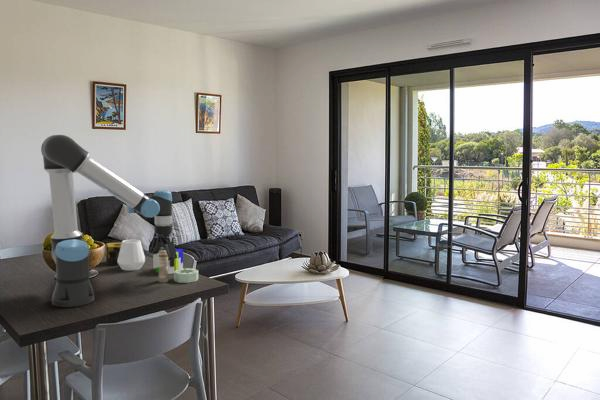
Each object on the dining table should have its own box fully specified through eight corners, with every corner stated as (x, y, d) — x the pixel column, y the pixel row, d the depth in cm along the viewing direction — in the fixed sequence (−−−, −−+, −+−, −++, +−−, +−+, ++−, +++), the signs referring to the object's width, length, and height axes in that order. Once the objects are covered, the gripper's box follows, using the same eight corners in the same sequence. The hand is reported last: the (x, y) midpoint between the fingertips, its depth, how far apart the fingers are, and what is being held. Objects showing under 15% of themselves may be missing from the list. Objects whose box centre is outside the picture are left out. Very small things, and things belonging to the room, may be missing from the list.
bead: (182, 283, 215) (182, 275, 215) (170, 279, 223) (170, 270, 222) (201, 280, 222) (202, 271, 222) (190, 275, 230) (190, 267, 229)
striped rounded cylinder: (161, 282, 216) (161, 252, 214) (157, 280, 219) (157, 250, 217) (169, 281, 219) (169, 251, 217) (165, 279, 222) (165, 249, 220)
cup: (150, 266, 245) (150, 239, 243) (135, 272, 232) (134, 244, 231) (128, 264, 248) (127, 237, 247) (111, 270, 236) (111, 242, 234)
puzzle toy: (182, 268, 243) (182, 249, 242) (175, 273, 233) (175, 253, 232) (163, 267, 244) (163, 248, 243) (156, 272, 234) (156, 252, 233)
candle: (106, 261, 253) (105, 243, 252) (126, 260, 257) (126, 242, 256) (107, 266, 244) (106, 246, 242) (128, 264, 248) (128, 245, 247)
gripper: (185, 227, 210) (185, 274, 212) (157, 220, 228) (158, 264, 230) (169, 229, 205) (169, 277, 207) (142, 221, 222) (143, 266, 225)
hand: (163, 270), depth 218 cm, fingers open, 13 cm apart
